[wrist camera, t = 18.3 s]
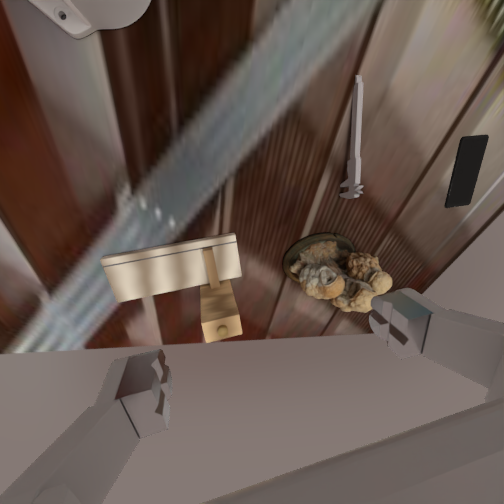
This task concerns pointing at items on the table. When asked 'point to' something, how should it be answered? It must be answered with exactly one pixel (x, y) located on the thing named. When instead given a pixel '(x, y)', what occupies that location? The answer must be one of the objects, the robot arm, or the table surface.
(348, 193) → the caliper
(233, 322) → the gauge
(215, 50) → the table surface
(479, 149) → the smartphone
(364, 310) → the carved stone sculpture
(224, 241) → the board
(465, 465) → the robot arm
